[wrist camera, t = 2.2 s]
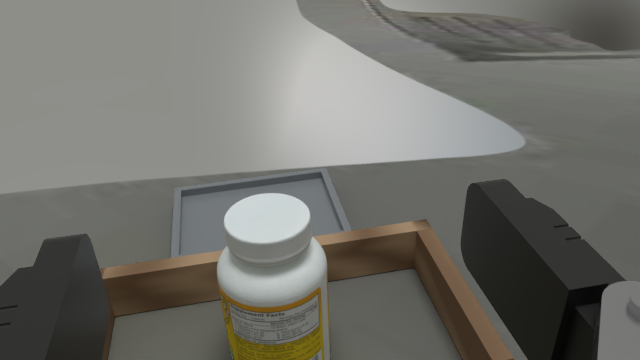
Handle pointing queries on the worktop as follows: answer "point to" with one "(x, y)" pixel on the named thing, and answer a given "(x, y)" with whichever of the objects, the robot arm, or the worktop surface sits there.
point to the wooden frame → (342, 262)
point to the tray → (216, 198)
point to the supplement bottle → (273, 281)
